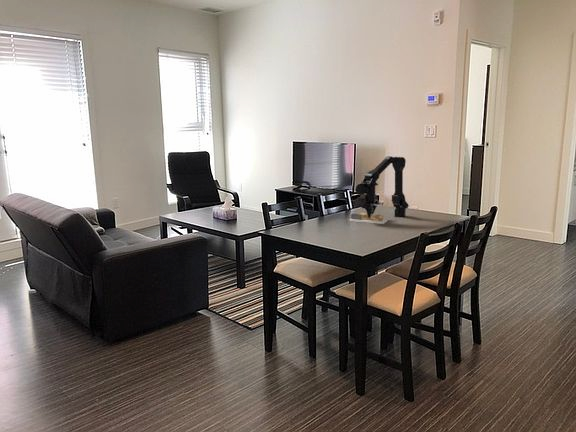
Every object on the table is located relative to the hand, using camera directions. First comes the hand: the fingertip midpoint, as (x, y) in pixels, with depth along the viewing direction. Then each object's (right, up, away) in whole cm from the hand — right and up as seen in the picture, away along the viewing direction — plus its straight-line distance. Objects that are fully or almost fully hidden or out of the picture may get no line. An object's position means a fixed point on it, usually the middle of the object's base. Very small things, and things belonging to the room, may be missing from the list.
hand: (370, 217), depth 294 cm
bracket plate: (-1, -3, +1) cm, 3 cm away
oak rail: (-1, -1, +1) cm, 2 cm away
